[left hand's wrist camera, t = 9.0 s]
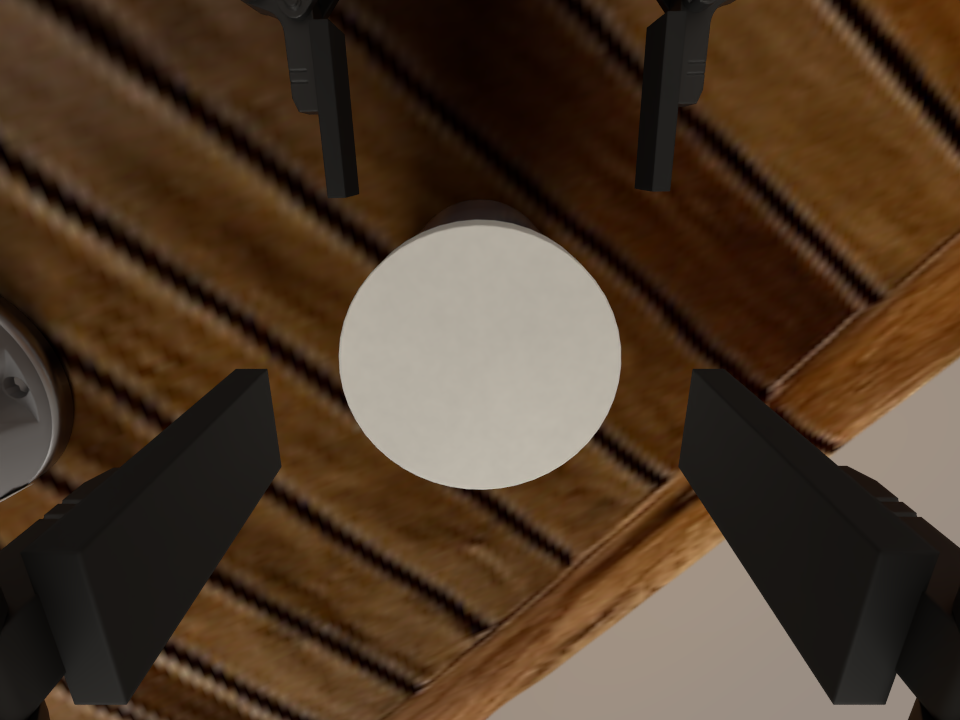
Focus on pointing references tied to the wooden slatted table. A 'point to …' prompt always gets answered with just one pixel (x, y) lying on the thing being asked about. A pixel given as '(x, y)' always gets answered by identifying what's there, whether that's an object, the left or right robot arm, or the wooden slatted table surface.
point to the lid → (480, 355)
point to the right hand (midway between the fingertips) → (497, 194)
